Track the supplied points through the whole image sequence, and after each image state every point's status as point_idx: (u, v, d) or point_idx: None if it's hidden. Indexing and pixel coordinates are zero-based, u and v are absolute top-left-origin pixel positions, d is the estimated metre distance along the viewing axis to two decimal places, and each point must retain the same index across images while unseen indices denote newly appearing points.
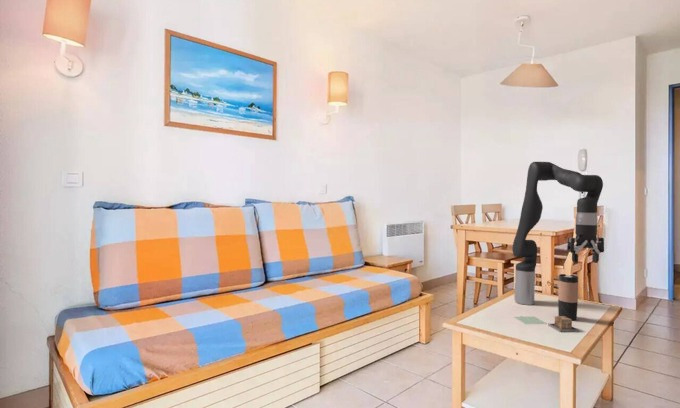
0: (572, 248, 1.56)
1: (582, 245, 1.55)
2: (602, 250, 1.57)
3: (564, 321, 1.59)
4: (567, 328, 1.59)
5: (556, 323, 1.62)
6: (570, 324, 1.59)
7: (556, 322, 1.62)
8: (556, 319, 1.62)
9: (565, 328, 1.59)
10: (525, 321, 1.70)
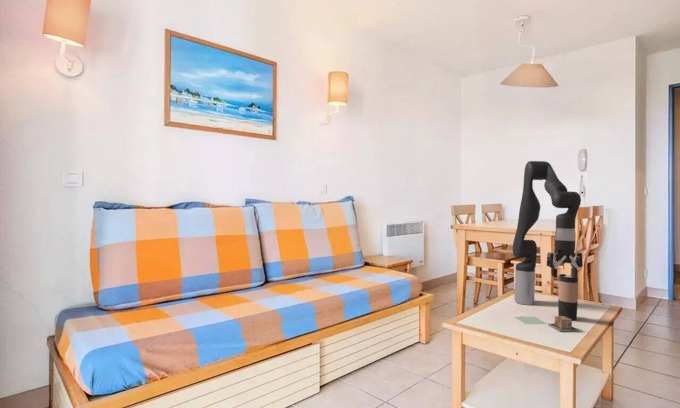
0: (551, 263, 1.59)
1: (561, 260, 1.59)
2: (581, 265, 1.60)
3: (564, 321, 1.59)
4: (567, 328, 1.59)
5: (556, 323, 1.62)
6: (570, 324, 1.59)
7: (556, 322, 1.62)
8: (556, 319, 1.62)
9: (565, 328, 1.59)
10: (525, 321, 1.70)
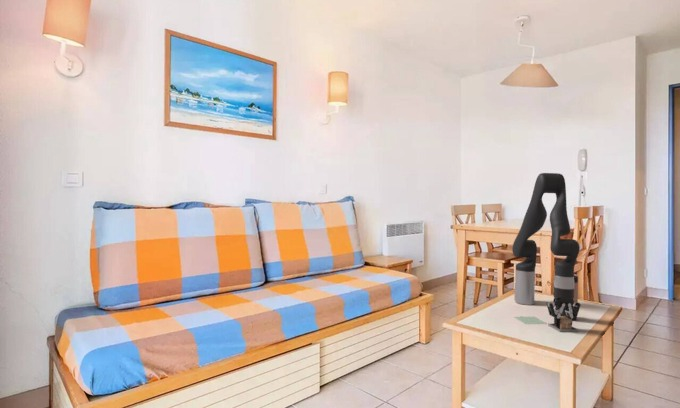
0: (553, 313, 1.60)
1: (561, 309, 1.59)
2: (575, 315, 1.60)
3: (564, 321, 1.59)
4: (567, 328, 1.59)
5: None
6: (570, 324, 1.59)
7: None
8: None
9: (565, 328, 1.59)
10: (525, 321, 1.70)
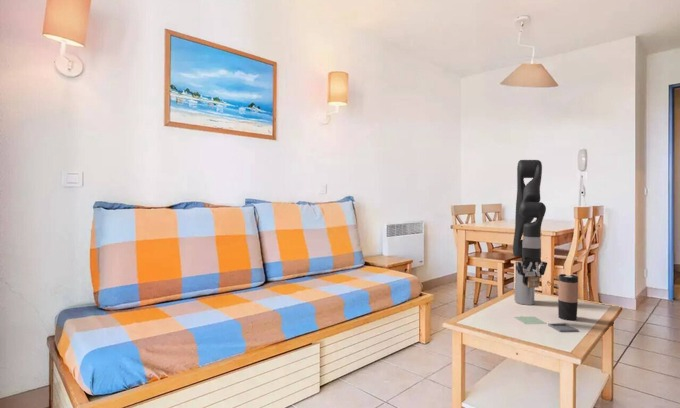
0: (521, 271, 1.70)
1: (529, 267, 1.70)
2: (542, 273, 1.71)
3: (531, 279, 1.69)
4: (534, 285, 1.69)
5: None
6: (537, 282, 1.69)
7: None
8: None
9: (532, 285, 1.69)
10: (525, 321, 1.70)
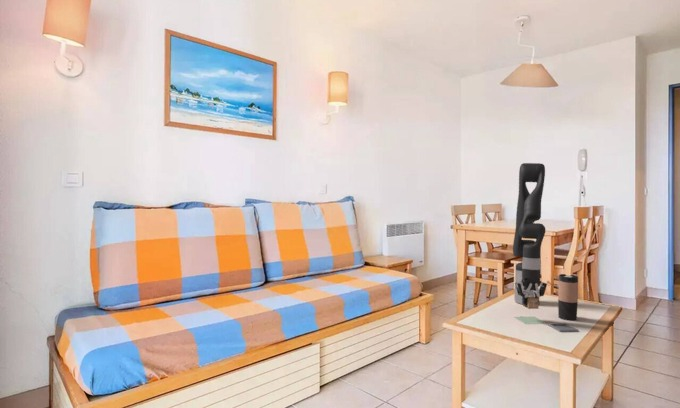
0: (521, 292, 1.70)
1: (528, 288, 1.70)
2: (542, 294, 1.71)
3: (531, 300, 1.69)
4: (534, 306, 1.69)
5: None
6: (537, 303, 1.69)
7: None
8: None
9: (532, 306, 1.69)
10: (525, 321, 1.70)
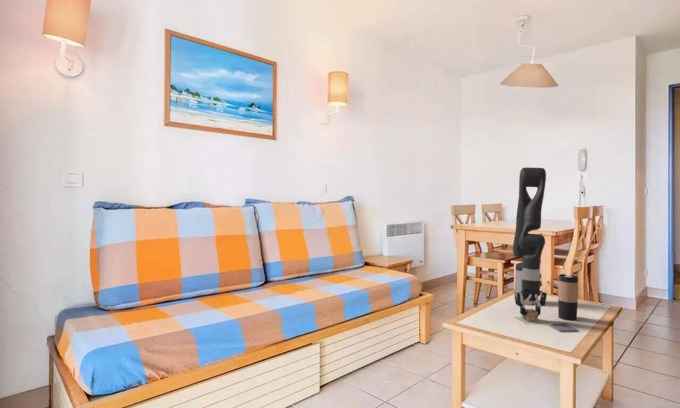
0: (519, 302, 1.70)
1: (527, 299, 1.70)
2: (543, 304, 1.71)
3: (530, 313, 1.69)
4: (533, 320, 1.70)
5: None
6: (536, 316, 1.70)
7: None
8: None
9: (531, 320, 1.70)
10: (525, 321, 1.70)
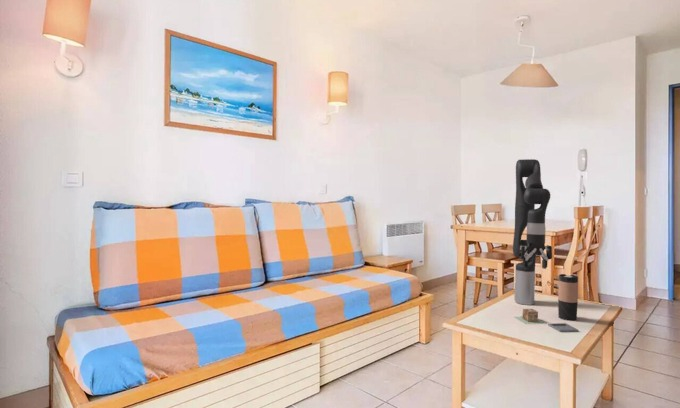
0: (522, 255, 1.71)
1: (531, 253, 1.70)
2: (550, 257, 1.72)
3: (530, 313, 1.69)
4: (533, 320, 1.70)
5: (524, 315, 1.73)
6: (536, 316, 1.70)
7: (523, 314, 1.73)
8: (524, 311, 1.73)
9: (531, 320, 1.70)
10: (525, 321, 1.70)
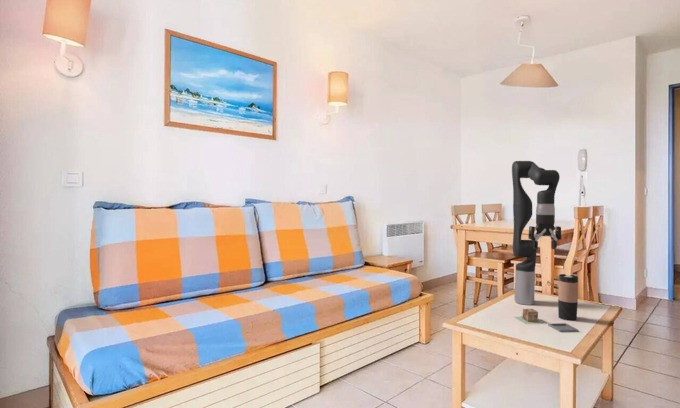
0: (532, 236, 1.73)
1: (541, 233, 1.73)
2: (559, 238, 1.74)
3: (530, 313, 1.69)
4: (533, 320, 1.70)
5: (524, 315, 1.73)
6: (536, 316, 1.70)
7: (523, 314, 1.73)
8: (524, 311, 1.73)
9: (531, 320, 1.70)
10: (525, 321, 1.70)
